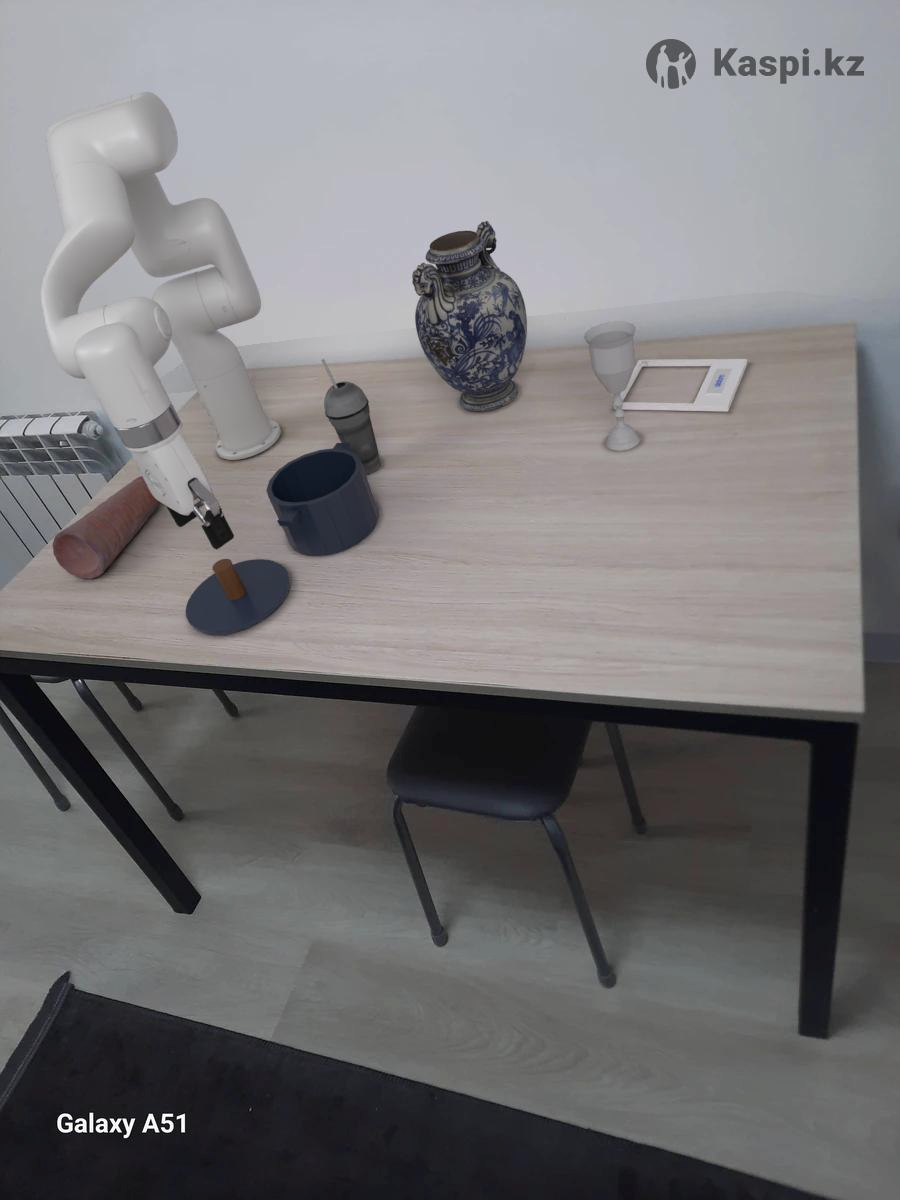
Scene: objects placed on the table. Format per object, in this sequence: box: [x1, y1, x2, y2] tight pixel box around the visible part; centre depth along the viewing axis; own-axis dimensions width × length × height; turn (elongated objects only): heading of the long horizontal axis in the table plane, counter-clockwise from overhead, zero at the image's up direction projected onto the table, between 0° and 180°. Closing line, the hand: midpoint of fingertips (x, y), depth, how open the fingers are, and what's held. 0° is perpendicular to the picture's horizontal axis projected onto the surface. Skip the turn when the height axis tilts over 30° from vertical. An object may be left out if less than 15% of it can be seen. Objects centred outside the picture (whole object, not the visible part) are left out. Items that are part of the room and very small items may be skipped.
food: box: [52, 475, 162, 580], centre depth 143 cm, size 21×9×9 cm, turn 165°
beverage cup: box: [321, 358, 382, 475], centre depth 138 cm, size 7×7×20 cm
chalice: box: [583, 320, 641, 452], centre depth 126 cm, size 7×7×18 cm
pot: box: [265, 442, 380, 557], centre depth 130 cm, size 15×20×10 cm
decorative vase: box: [411, 220, 528, 413], centre depth 144 cm, size 21×19×28 cm
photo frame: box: [613, 358, 748, 413], centre depth 139 cm, size 15×1×18 cm
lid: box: [185, 558, 291, 636], centre depth 123 cm, size 16×16×7 cm
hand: (205, 531), depth 117 cm, fingers open, 9 cm apart
